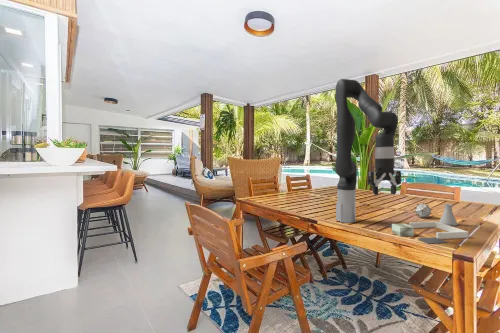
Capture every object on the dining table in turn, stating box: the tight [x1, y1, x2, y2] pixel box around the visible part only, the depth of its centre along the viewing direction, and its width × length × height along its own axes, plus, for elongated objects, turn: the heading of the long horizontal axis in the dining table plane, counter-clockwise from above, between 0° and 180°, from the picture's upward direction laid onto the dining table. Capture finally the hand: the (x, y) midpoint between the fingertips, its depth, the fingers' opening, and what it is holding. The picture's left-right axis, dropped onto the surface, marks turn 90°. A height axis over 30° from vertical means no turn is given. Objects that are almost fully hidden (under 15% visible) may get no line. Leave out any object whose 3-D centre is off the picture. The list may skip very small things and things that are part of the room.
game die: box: [414, 202, 433, 219], centre depth 139 cm, size 9×8×10 cm
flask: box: [438, 203, 459, 227], centre depth 125 cm, size 7×7×10 cm
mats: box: [387, 224, 448, 245], centre depth 112 cm, size 8×26×1 cm, turn 4°
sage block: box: [391, 223, 415, 237], centre depth 112 cm, size 6×6×4 cm
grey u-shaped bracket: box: [408, 220, 469, 240], centre depth 113 cm, size 14×17×2 cm
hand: (384, 194), depth 110 cm, fingers open, 7 cm apart
